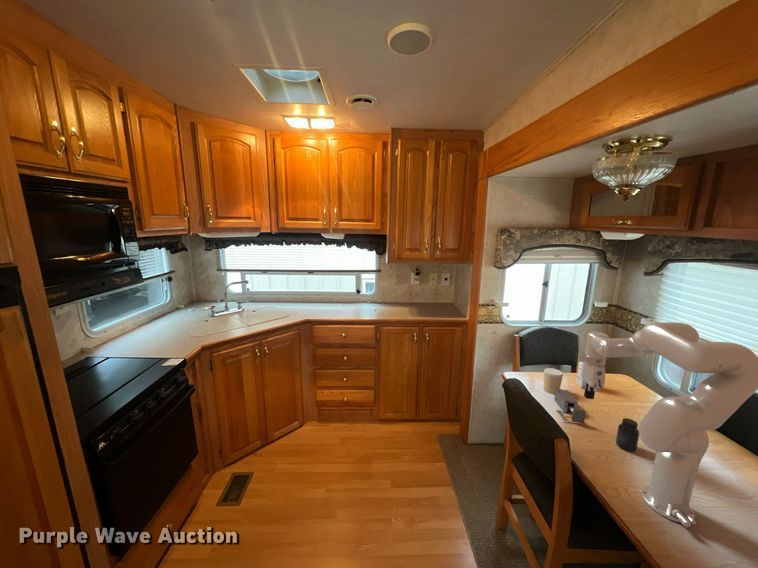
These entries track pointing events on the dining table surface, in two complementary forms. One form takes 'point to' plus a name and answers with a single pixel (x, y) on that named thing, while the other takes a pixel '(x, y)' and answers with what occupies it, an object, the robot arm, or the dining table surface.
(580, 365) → the syrup box
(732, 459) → the dining table surface
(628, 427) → the supplement bottle
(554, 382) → the coffee cup
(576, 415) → the plunger
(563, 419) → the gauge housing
